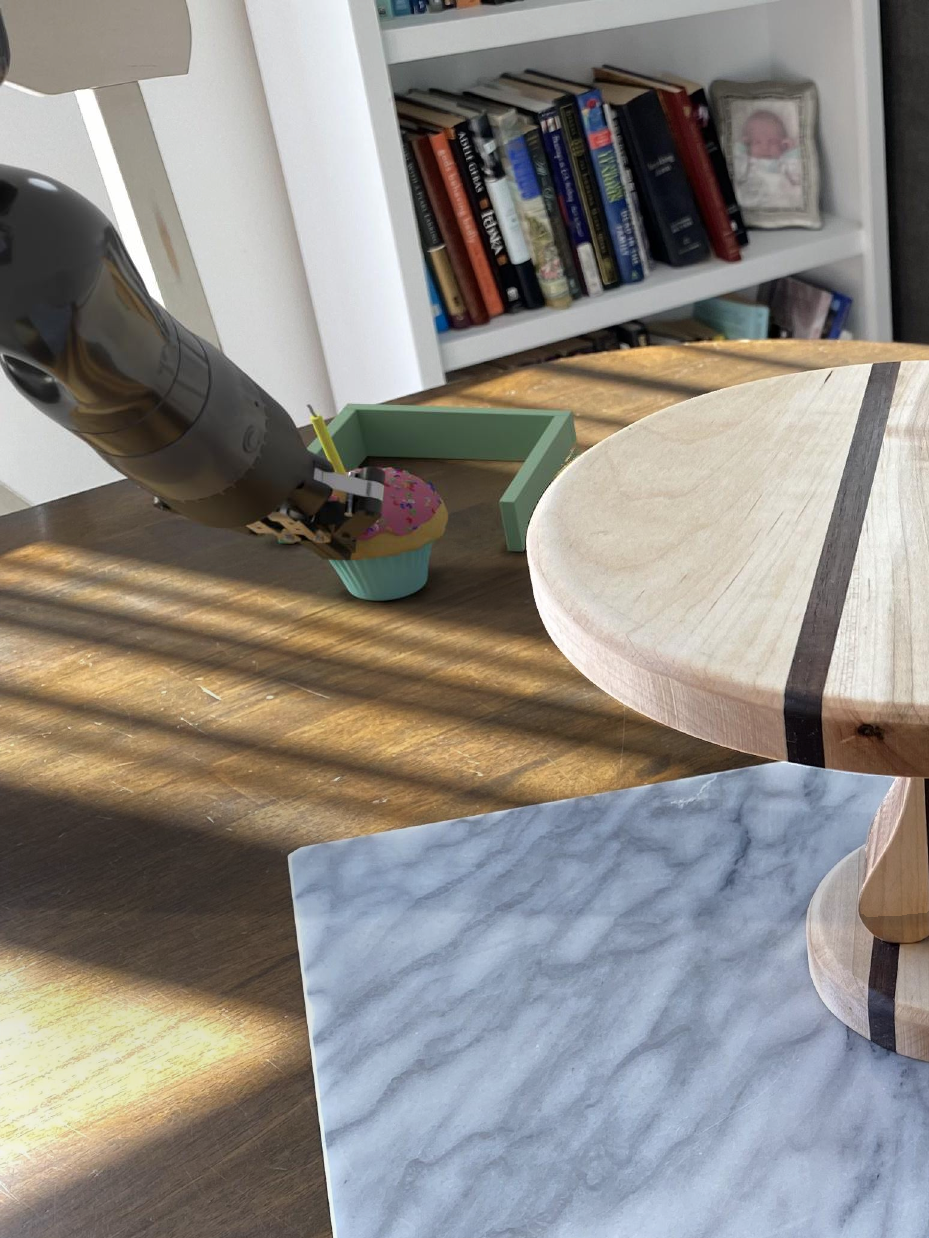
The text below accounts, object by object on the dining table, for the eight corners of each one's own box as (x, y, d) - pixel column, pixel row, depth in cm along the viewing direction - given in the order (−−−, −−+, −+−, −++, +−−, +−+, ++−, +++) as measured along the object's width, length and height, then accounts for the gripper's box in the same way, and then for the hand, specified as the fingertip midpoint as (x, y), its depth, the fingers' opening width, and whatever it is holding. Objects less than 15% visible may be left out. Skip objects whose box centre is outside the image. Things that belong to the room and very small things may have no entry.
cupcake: (342, 628, 101) (292, 437, 93) (297, 574, 106) (246, 389, 99) (480, 590, 105) (442, 404, 98) (430, 540, 110) (390, 359, 103)
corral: (523, 552, 109) (514, 501, 107) (278, 543, 109) (264, 493, 107) (579, 457, 121) (572, 410, 119) (358, 450, 121) (347, 403, 119)
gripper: (328, 355, 82) (456, 487, 99) (62, 346, 82) (236, 479, 100) (313, 503, 81) (445, 610, 98) (44, 493, 82) (222, 601, 99)
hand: (339, 544), depth 99 cm, fingers closed
